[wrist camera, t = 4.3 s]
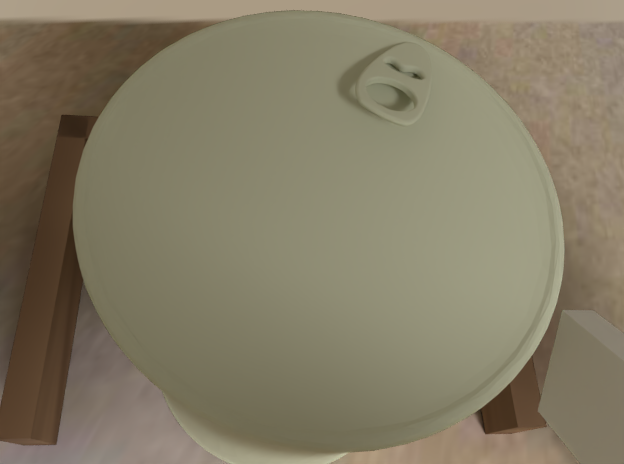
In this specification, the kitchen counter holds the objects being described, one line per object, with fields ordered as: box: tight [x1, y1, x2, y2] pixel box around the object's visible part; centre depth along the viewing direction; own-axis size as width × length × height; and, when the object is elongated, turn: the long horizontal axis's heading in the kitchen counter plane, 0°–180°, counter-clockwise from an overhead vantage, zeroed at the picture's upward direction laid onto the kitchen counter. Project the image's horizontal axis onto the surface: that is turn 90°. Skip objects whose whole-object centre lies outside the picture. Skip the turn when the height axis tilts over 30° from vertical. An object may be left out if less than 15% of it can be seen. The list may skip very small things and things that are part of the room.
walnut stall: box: [0, 115, 547, 445], centre depth 20 cm, size 17×12×2 cm
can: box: [73, 10, 565, 464], centre depth 15 cm, size 9×9×12 cm
